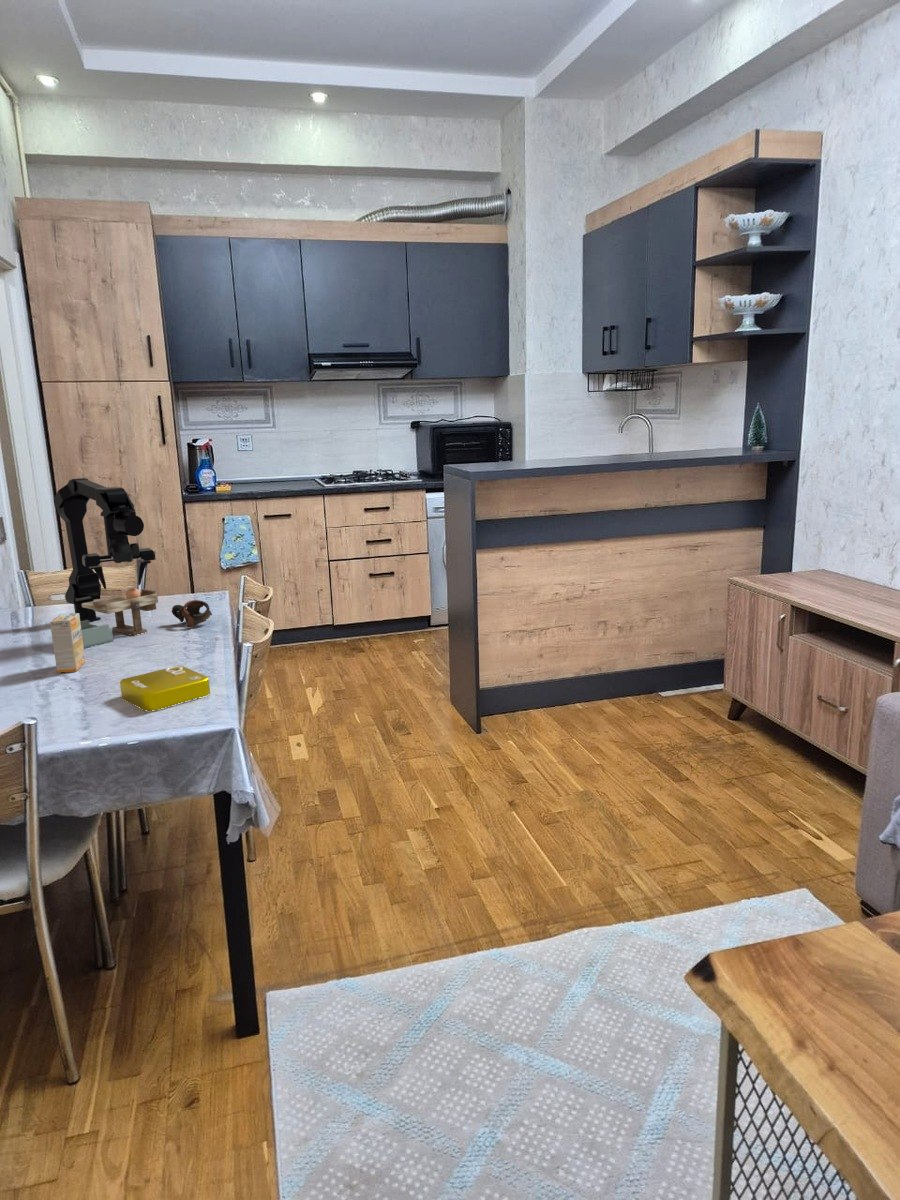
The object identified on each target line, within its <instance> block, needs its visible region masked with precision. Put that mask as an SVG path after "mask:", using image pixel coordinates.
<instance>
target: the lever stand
mask: <svg viewBox="0 0 900 1200" xmlns="http://www.w3.org/2000/svg"><path fill="white" fill-rule="evenodd" d="M130 611H131V617H132V625H129V624H125V617H124V616H125V615H124V610H123V611H119V612H114V616H115V624H116V626H114V627H112V628H111V629H112V632H116V631H117V632H116V633H120V632H121V633H120V634H124V633H126V634H125V635H128V634H131V635H130V636H133V635H136V636H138V635H137V634H140V635H142V634H141V633H144V634H146V633H145V632H147V633H148V631H147V628H143V627H142V617H141V610H140V605H139V601H133V602H131V609H130Z"/></svg>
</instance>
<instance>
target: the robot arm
mask: <svg viewBox="0 0 900 1200" xmlns="http://www.w3.org/2000/svg"><path fill="white" fill-rule="evenodd" d="M90 500H93V501H95V504H96V506H97V507H99V509H100V510H102V511H101V512H100V514H99V515H100V516H101V517H103V524H104V532H105V541H106V551H107V554H106V555H105V554H104V555H100V554H99V553H97V552H95V553H93V552H92V553H89V551H88V547H87V546H88V545H87V540H86V539H87V538H86V532H85V526H84V518H85V516H86V514H87V511H88V510H87V509H88V506H87V504H88V502H89V501H90ZM53 503H54V504H53V505H54V507H55V508H56V511H57V512H56V513H57V515H58V516H60V518H61V519H62V520H63V521H64V523H65V530H66V535H67V541H68V547H69V553H70V554H69V555H70V558H71V559H70V560H71V564H72V565H71V566H72V570H71V573H70V575H69V577H68V587H67V590H66V593H65V594H64V598H65V600H66V603H68V604H72V605H73V608H74V613H79V616H80V621H84V620H89V622H92V621H97V620H101V619H102V617H100V616H97V612H96V611H94V610H93V609H89V608H84V607H82V604H83V603H87V602H92V601H97V600H100V599H101V593H102V587H103V589H104V590H107V584H106V579H105V575H104V571H103V566H102V565H101V563H107V562H114V563H115V564H121V563H131V562H133V561H134V560H136V578H137V585H138V586H140V585H141V584H142V580H143V577H144V572H145V570H146V567H147V566H148V564H151V563H152V561H155V560H157V559H156V552H155V550H153V549H151V548H150V547H146V548H145V547H144V548H140V545H139V543H138V542H137V543H130V542H129V536H131V537H137V536H139V535H141V534H142V533H143V531H144V528H145V523H144V521H143V519H142V518H141V517H140V516H139V515H137V514H136V509H135V504H134V503H133V501H132V500H131V498H130V497H129V494H128V493H127V491H126V490H125V489H124V488H123V487H122V486H121V487H118V486H115V487H114V486H111V487H110V486H105V485H102V484H99V483H96V482H94V481H92V480H89V478H86V477H80V478H71V479H69V480H68V482H67V483H66V484H65V485H64V486H62V487H61V488H60V489H58V490H57V491H56V494H55V495H54V498H53Z"/></svg>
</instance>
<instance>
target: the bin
mask: <svg viewBox="0 0 900 1200" xmlns="http://www.w3.org/2000/svg"><path fill="white" fill-rule="evenodd" d="M90 622H91V621H90ZM90 622H89V620H84V621H80V624H81V632H82V639H83V647H84V648H85V649H88V647H89V648H92V647H91V646H93V647H96V646H95V645H97V646H100V644H101V645H104V643H105V644H108V643H111V641H112V642H114V636H113V629H112V628H110V627H109V624H108V623H106V624H102V625H97V624H91V623H90Z"/></svg>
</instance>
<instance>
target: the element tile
mask: <svg viewBox="0 0 900 1200" xmlns="http://www.w3.org/2000/svg"><path fill="white" fill-rule="evenodd" d="M119 685H120V687H119V688H120V694H121V699H122V700H123V699H124V701H125V700H126V701H125V702H127V701H128V702H127V703H129V702H130V703H132V704H134V705H136V706H138V707H140V708H141V709H143V710H147V711H152V710H158V709H161V708H165V707H168V706H172V705H175V704H178V703H181V702H185V701H188V700H192V699H195V698H199V697H203V696H206V695H208V694H210V695H211V687H210V678H209V676H207V675H204V674H202V673H200V672H197V671H195V670H194V669H193V670H192V669H191V668H188V667H185V666H182V665H174V666H169V667H167V668H162V669H158V670H155V671H151V672H146V673H142V674H138V675H133V676H130V677H129V676H128V677H126V678H122V679H121V680H120V681H119ZM130 703H129V704H130ZM132 704H131V705H132ZM134 705H133V706H134ZM136 706H135V707H136ZM138 707H137V708H138ZM172 707H173V706H172ZM141 709H140V710H141ZM165 709H166V708H165ZM143 710H142V711H143ZM161 710H162V709H161ZM158 711H159V710H158Z"/></svg>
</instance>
